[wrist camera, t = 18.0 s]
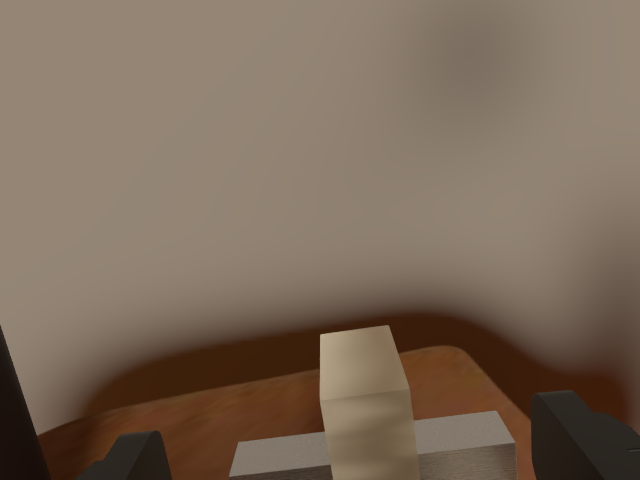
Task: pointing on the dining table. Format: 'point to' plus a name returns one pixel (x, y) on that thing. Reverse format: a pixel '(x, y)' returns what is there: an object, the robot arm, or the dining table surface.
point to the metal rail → (431, 441)
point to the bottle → (17, 428)
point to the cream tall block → (366, 407)
